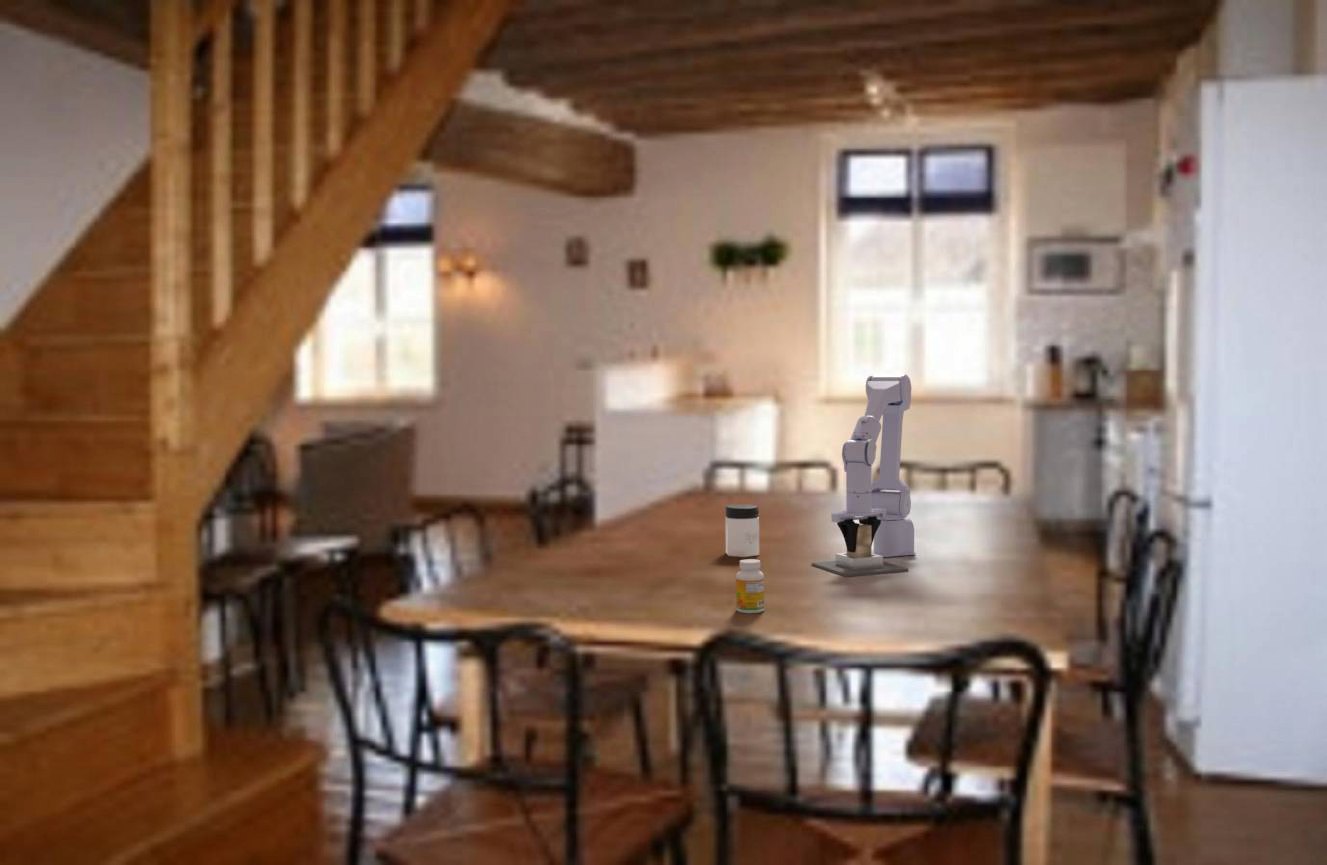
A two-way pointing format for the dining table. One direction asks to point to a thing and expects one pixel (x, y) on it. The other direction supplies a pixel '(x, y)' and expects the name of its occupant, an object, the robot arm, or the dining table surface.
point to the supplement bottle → (750, 587)
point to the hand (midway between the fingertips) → (859, 550)
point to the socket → (859, 561)
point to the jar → (742, 530)
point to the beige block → (862, 542)
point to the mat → (848, 572)
